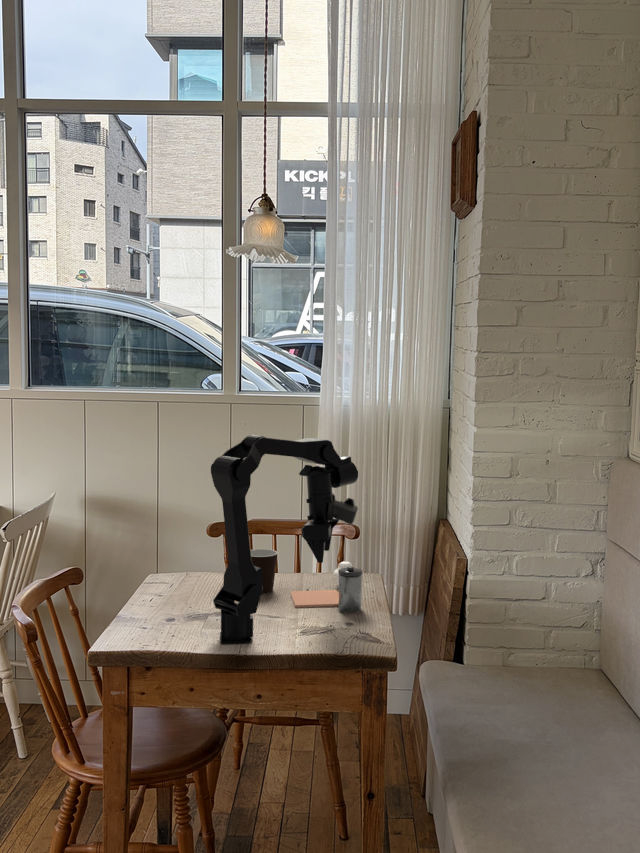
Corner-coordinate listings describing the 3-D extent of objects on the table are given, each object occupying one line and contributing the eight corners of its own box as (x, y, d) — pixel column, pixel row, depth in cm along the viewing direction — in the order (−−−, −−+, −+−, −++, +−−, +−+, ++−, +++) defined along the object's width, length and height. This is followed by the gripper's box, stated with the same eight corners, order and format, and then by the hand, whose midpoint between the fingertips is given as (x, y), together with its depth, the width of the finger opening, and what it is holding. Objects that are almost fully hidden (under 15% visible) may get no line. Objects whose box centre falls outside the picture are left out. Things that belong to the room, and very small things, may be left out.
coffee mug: (272, 596, 211) (272, 557, 210) (239, 594, 213) (239, 555, 212) (283, 584, 223) (283, 547, 222) (252, 582, 224) (252, 545, 223)
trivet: (295, 607, 202) (295, 605, 202) (290, 593, 214) (290, 591, 214) (343, 606, 203) (343, 603, 203) (336, 592, 215) (336, 590, 215)
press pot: (339, 613, 197) (340, 571, 196) (336, 606, 203) (336, 564, 202) (363, 613, 198) (364, 570, 197) (359, 605, 204) (360, 564, 203)
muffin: (357, 584, 223) (357, 558, 223) (355, 590, 217) (356, 564, 217) (334, 583, 224) (334, 557, 223) (332, 589, 218) (332, 563, 217)
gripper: (348, 501, 183) (352, 569, 185) (359, 482, 201) (362, 544, 204) (299, 502, 185) (303, 569, 187) (314, 483, 203) (317, 544, 206)
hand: (323, 556), depth 196 cm, fingers open, 9 cm apart
